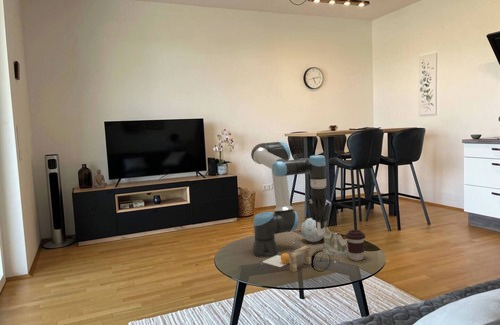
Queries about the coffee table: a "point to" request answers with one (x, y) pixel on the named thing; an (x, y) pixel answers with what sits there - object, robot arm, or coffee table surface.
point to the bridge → (293, 254)
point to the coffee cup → (355, 244)
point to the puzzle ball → (311, 231)
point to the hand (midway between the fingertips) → (320, 234)
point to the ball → (285, 258)
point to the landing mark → (275, 261)
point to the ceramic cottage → (334, 244)
